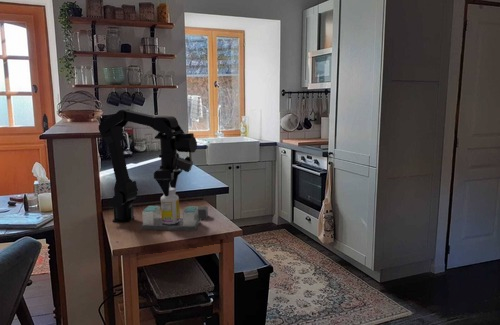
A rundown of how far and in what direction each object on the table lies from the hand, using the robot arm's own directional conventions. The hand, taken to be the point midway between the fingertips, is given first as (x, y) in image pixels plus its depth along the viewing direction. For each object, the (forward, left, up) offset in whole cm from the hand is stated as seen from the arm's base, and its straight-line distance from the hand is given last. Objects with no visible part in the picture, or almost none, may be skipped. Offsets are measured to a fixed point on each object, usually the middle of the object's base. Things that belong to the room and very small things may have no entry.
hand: (170, 192), depth 142 cm
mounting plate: (0, 0, -13) cm, 13 cm away
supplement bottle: (0, 0, -12) cm, 12 cm away
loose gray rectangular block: (+9, +11, -13) cm, 19 cm away
